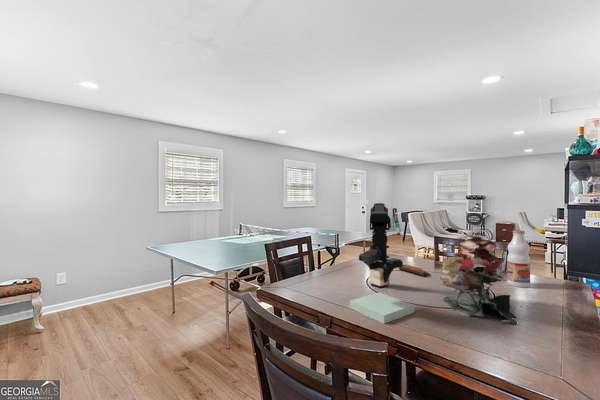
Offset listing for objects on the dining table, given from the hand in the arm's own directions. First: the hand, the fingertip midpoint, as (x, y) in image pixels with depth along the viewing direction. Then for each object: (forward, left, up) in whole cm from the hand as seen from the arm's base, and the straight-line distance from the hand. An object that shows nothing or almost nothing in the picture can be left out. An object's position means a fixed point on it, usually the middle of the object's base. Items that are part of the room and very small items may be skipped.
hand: (379, 280), depth 118 cm
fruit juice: (-82, +19, -12) cm, 85 cm away
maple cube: (0, 0, -1) cm, 1 cm away
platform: (+1, +1, -12) cm, 12 cm away
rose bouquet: (-33, +21, -12) cm, 41 cm away
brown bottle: (-60, -25, -12) cm, 67 cm away
